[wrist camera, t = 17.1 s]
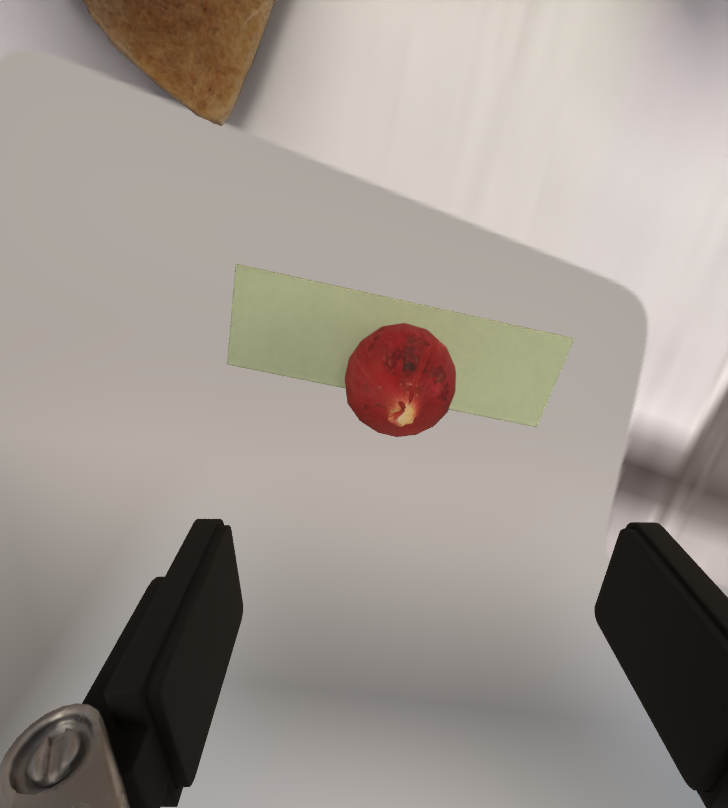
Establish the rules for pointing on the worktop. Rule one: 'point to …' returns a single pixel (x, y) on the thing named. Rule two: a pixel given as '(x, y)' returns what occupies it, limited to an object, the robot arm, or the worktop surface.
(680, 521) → the worktop surface
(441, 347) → the pomegranate
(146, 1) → the stone cup
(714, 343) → the worktop surface
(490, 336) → the edge strip
